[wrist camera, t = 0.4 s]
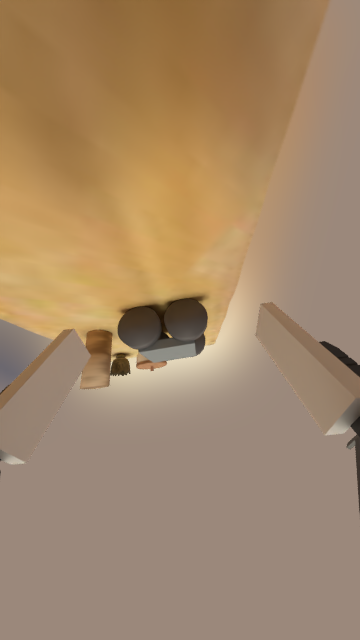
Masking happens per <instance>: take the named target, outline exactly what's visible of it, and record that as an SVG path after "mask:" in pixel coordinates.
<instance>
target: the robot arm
mask: <svg viewBox="0 0 360 640" xmlns="http://www.w3.org/2000/svg"><path fill="white" fill-rule="evenodd" d="M256 337H257V338H258V340H259V341H260V343H261V344H262V346H263V347H264V349H265V350H266V351H267V353H268V354H269V356H270V357H271V359H272V360H273V361H274V363H275V364H276V366H277V367H278V369H279V370H280V372H281V373H282V374H283V376H284V377H285V379H286V380H287V382H288V383H289V384H290V386H291V387H292V389H293V390H294V392H295V393H296V395H297V396H298V398H299V399H300V400H301V402H302V403H303V405H304V406H305V407H306V409H307V410H308V412H309V413H310V415H311V416H312V418H313V419H314V421H315V422H316V423H317V425H318V426H319V428H320V429H321V431H322V432H323V433H324V435H332V434H343V433H345V432H346V431H347V430H348V429H349V428H350V427H352V429H353V430H354V431H355V432H356V433H357V435H356V436H355V437H354V438H353V439H352V440H350V441H349V442H348V444H347V448H348V449H351V448H353V447H354V446H355V448H356V463H357V480H358V495H359V511H360V365H357V363H356V362H355V361H354V360H352V359H351V358H349V357H348V355H346V354H345V353H344V352H342V351H341V350H340V349H339V348H337V347H335V346H333V345H331V344H329V343H327V342H325V341H323V342H318V341H317V340H315V339H314V338H313V337H312V336H311V335H310V334H308V333H307V332H306V331H305V330H304V329H302V327H300V326H299V325H298V324H297V323H296V322H294V321H293V320H292V319H291V318H290V317H289V316H288V315H286V314H285V313H284V312H283V311H282V310H280V309H279V308H278V307H277V306H276V305H275V304H273V303H272V302H270V303H263V304H261V305H260V310H259V317H258V323H257V329H256ZM90 357H91V355H90V353H89V352H88V350H87V348H86V347H85V345H84V344H83V342H82V340H81V339H80V337H79V336H78V334H77V332H76V331H75V329H68V330H63V331H62V332H61V333H60V334H59V336H58V337H57V338H56V339H55V340H54V341H53V342H52V343H51V344H50V345H49V346H48V347H47V348H46V349H45V350H44V351H43V352H42V353H41V354H40V355H39V356H38V357H37V358H36V359H35V360H34V361H33V362H32V363H31V364H30V365H29V366H28V367H27V368H26V369H25V370H24V371H23V372H22V373H21V374H20V375H19V376H18V377H17V378H16V379H15V380H14V381H13V382H12V383H11V384H10V385H8V386H7V387H6V388H5V389H4V390H3V391H2V392H1V393H0V460H2V461H5V462H7V463H9V464H21V463H27V462H28V460H29V458H30V457H31V455H32V453H33V452H34V450H35V448H36V447H37V445H38V443H39V442H40V440H41V438H42V437H43V435H44V433H45V432H46V430H47V429H48V427H49V425H50V424H51V422H52V420H53V419H54V417H55V415H56V414H57V412H58V410H59V408H60V407H61V405H62V404H63V401H64V400H65V399H66V397H67V395H68V393H69V392H70V390H71V389H72V387H73V385H74V384H75V382H76V380H77V379H78V377H79V375H80V374H81V372H82V370H83V369H84V367H85V365H86V364H87V362H88V360H89V359H90Z"/></svg>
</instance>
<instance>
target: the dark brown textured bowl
mask: <svg viewBox="0 0 360 640" xmlns="http://www.w3.org/2000/svg"><path fill="white" fill-rule="evenodd" d="M125 357H126V356H125V354H118V355H117V356H116V359H115V360H114V361H113V363H112V366H111V372H110V375H113V376H114V375H115V376H116V375H117V374H118V376H119V375H120V374H121V375H122V376H124V375H127V373H128V372H129V374H130V365H129V361H128V359H126V358H125Z"/></svg>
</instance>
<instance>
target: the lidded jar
mask: <svg viewBox="0 0 360 640" xmlns="http://www.w3.org/2000/svg"><path fill="white" fill-rule="evenodd" d="M166 364H167V362H166V361H162V362H156V363H153V362H152V361H150V360H148V359H147V358H146V357H144V356H143V355H141V354H140V353H139V352H138V355H137V365H136V367H137V368H138V369H151V371H153V370H154V369H155V368H160V367H163V366H165V365H166Z"/></svg>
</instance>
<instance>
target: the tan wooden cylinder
mask: <svg viewBox="0 0 360 640" xmlns="http://www.w3.org/2000/svg"><path fill="white" fill-rule="evenodd" d="M111 347H112V333H110V332H108V331H104V330H94V331H90V332H88V333H87V339H86V348H87V350H88V352H89V353H90V355H91V357H90V359H89V360H88V362H87V364H86V365H85V367H84V369H83V370H82V377H81V385H80V389H96V388H103V387H108V386H109V381H110V380H109V379H110V365H111Z"/></svg>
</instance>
